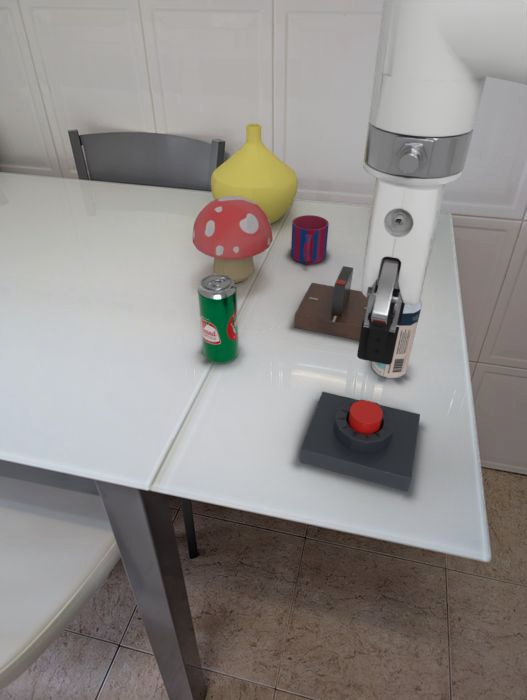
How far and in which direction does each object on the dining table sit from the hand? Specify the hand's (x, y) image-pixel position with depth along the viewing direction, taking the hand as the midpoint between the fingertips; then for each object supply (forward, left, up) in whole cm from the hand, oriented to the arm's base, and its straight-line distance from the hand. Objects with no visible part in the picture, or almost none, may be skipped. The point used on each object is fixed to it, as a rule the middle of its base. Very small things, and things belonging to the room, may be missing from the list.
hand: (380, 337), depth 49 cm
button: (0, 0, -12) cm, 12 cm away
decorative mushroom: (+28, -30, -16) cm, 44 cm away
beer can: (-1, -15, -16) cm, 22 cm away
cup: (+18, -42, -16) cm, 48 cm away
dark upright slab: (+8, -25, -13) cm, 29 cm away
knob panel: (+8, -25, -16) cm, 31 cm away
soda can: (+22, -10, -16) cm, 29 cm away
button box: (0, 0, -16) cm, 16 cm away
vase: (+34, -57, -16) cm, 68 cm away
